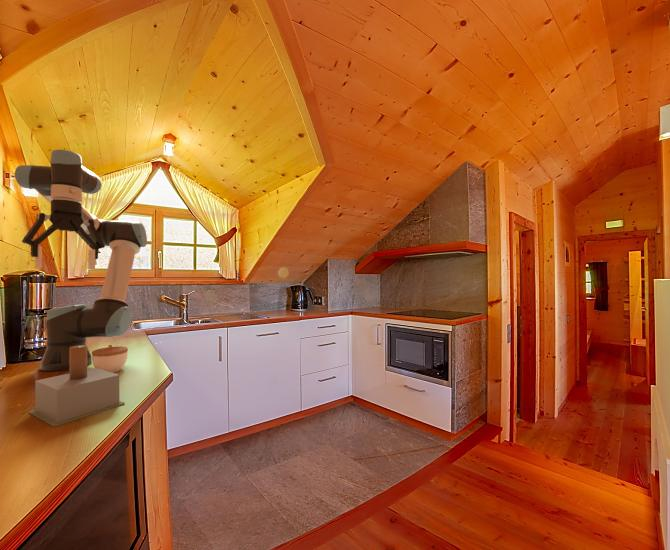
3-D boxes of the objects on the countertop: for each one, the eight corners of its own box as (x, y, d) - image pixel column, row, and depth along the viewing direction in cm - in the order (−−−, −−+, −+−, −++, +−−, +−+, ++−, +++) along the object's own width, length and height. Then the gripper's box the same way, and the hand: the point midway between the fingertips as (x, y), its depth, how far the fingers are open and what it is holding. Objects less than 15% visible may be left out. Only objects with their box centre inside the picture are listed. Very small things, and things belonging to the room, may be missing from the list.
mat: (97, 394, 94) (97, 392, 94) (124, 404, 86) (124, 402, 86) (29, 412, 81) (29, 411, 81) (53, 427, 73) (53, 425, 73)
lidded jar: (109, 376, 110) (109, 349, 110) (83, 374, 112) (83, 347, 112) (134, 367, 121) (134, 342, 121) (110, 366, 123) (110, 341, 123)
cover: (95, 394, 92) (95, 339, 92) (119, 403, 86) (119, 344, 86) (35, 410, 81) (35, 348, 81) (57, 422, 74) (57, 355, 74)
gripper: (16, 190, 88) (16, 267, 88) (116, 207, 110) (116, 269, 110) (7, 194, 92) (7, 268, 92) (105, 209, 114) (105, 269, 113)
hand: (66, 268), depth 101 cm, fingers open, 13 cm apart
